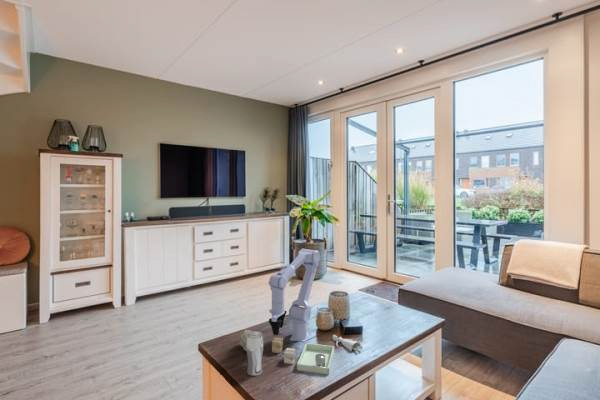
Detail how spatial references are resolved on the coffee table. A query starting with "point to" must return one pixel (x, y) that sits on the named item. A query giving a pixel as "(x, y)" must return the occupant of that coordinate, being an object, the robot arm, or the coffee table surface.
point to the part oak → (277, 345)
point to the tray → (308, 358)
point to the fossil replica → (244, 338)
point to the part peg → (320, 360)
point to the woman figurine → (348, 343)
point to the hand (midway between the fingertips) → (278, 330)
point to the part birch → (289, 355)
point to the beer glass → (254, 352)
